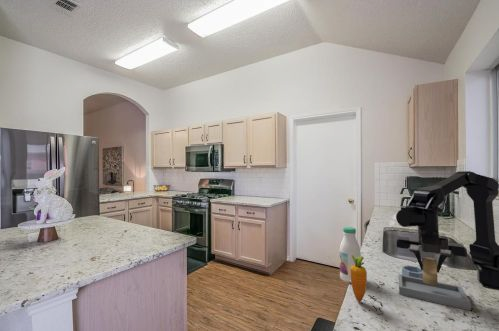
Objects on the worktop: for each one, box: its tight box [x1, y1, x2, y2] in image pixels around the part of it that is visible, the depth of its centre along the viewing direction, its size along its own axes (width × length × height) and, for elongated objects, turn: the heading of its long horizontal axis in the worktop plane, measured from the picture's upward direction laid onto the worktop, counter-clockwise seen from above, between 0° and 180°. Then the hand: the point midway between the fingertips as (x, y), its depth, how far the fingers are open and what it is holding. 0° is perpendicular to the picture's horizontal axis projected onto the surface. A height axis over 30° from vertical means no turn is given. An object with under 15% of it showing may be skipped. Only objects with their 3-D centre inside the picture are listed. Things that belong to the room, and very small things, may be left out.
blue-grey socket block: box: [401, 264, 423, 279], centre depth 92 cm, size 8×8×3 cm
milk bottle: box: [339, 226, 362, 284], centre depth 90 cm, size 8×8×20 cm
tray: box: [398, 273, 472, 311], centre depth 78 cm, size 18×12×2 cm, turn 57°
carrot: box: [350, 255, 368, 303], centre depth 74 cm, size 5×5×15 cm
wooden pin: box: [421, 256, 439, 286], centre depth 79 cm, size 4×4×8 cm
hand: (429, 270), depth 79 cm, fingers closed on wooden pin, 4 cm apart
